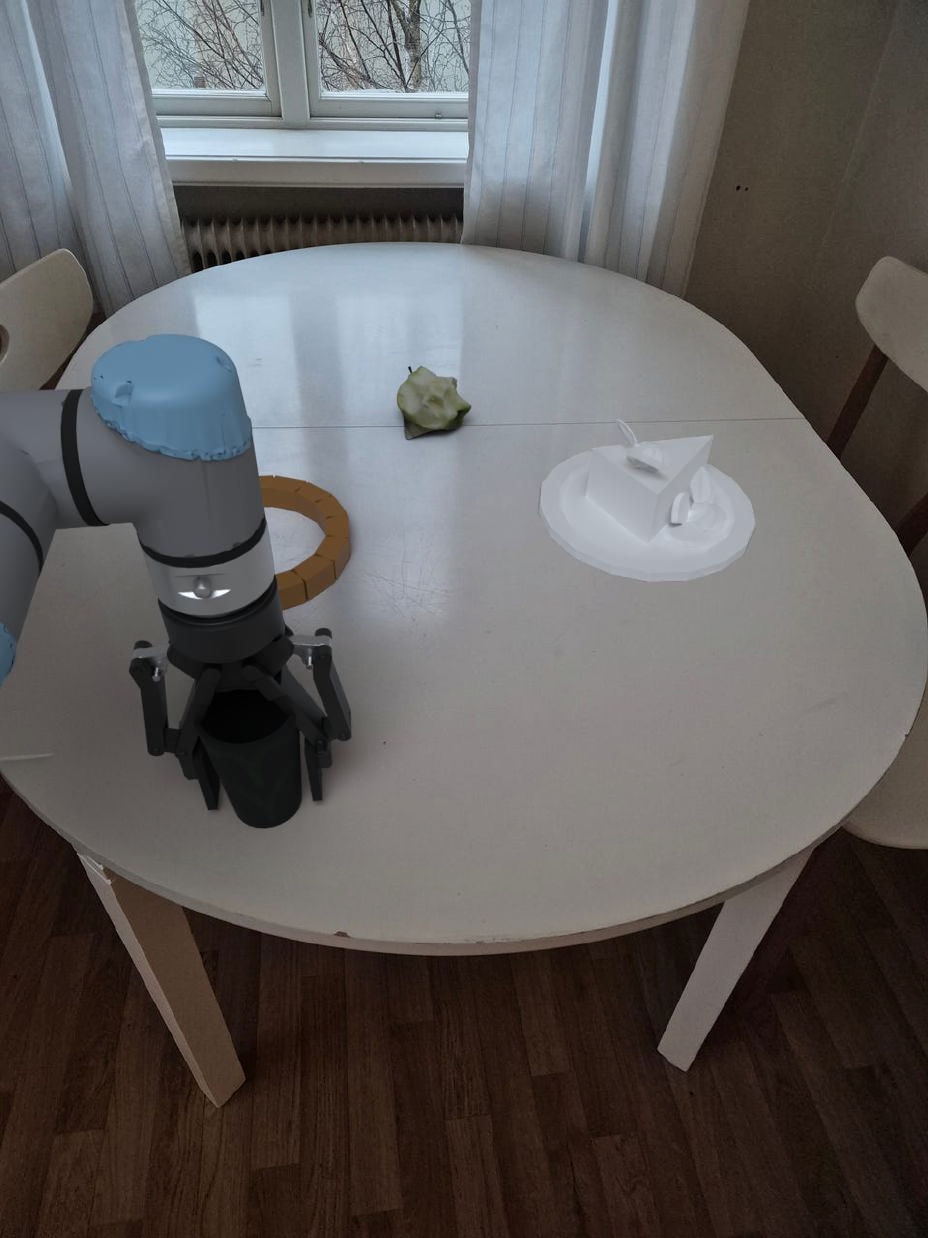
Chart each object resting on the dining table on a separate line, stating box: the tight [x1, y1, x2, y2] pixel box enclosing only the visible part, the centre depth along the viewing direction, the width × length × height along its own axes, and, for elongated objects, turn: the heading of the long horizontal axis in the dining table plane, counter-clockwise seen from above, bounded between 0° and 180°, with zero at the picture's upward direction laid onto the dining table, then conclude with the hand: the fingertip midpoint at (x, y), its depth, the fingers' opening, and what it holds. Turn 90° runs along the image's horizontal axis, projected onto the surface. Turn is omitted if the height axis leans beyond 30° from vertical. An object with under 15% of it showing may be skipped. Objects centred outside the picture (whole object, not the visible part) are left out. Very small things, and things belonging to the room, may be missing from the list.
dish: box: [538, 418, 756, 583], centre depth 97 cm, size 25×25×11 cm
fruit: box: [396, 365, 472, 441], centre depth 113 cm, size 9×9×8 cm
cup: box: [193, 689, 303, 829], centre depth 67 cm, size 8×8×12 cm
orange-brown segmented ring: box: [259, 474, 352, 611], centre depth 94 cm, size 21×21×3 cm
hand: (266, 791), depth 71 cm, fingers closed on cup, 8 cm apart
